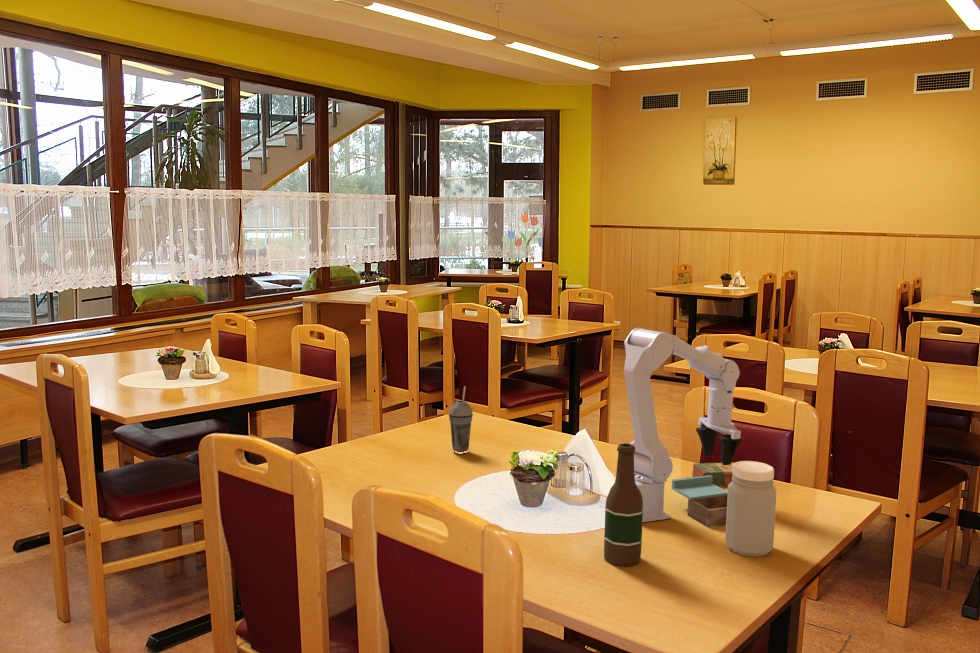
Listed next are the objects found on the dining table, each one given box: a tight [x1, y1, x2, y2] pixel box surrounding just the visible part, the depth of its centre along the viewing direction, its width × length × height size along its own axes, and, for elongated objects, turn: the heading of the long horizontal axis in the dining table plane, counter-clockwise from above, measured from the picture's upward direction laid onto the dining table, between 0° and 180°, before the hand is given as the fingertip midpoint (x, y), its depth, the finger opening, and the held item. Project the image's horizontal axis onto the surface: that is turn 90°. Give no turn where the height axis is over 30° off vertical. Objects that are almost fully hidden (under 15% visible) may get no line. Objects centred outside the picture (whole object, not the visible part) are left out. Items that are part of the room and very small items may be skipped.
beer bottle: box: [603, 442, 643, 568], centre depth 159 cm, size 8×8×24 cm
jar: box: [725, 460, 777, 558], centre depth 165 cm, size 10×10×18 cm
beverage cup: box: [448, 385, 474, 452], centre depth 234 cm, size 7×7×20 cm
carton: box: [691, 461, 737, 486], centre depth 212 cm, size 8×16×4 cm, turn 95°
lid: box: [671, 475, 728, 500], centre depth 190 cm, size 11×8×2 cm
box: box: [687, 495, 728, 528], centre depth 184 cm, size 11×8×4 cm
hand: (717, 460), depth 196 cm, fingers open, 7 cm apart
